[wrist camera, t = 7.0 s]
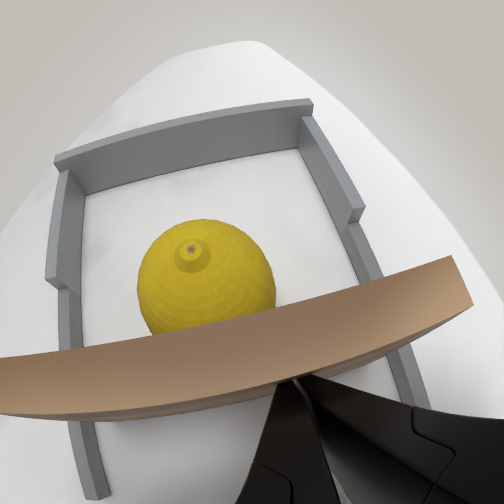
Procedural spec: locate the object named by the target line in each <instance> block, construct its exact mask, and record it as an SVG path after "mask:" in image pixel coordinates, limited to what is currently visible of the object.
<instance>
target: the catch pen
mask: <svg viewBox="0 0 504 504" xmlns="http://www.w3.org/2000/svg"><path fill="white" fill-rule="evenodd" d="M313 106H314V104H313V103H312V101H311V100H310V98H306V99H295V100H285V101H276V102H268V103H260V104H253V105H246V106H240V107H233V108H227V109H222V110H216V111H211V112H205V113H200V114H195V115H191V116H186V117H181V118H177V119H173V120H168V121H164V122H160V123H156V124H152V125H148V126H145V127H141V128H137V129H134V130H130V131H127V132H123V133H120V134H116V135H113V136H110V137H107V138H104V139H100V140H97V141H94V142H91V143H88V144H85V145H82V146H80V147H77V148H74V149H71V150H68V151H66V152H63V153H60V154H58V155H56V156H55V159H54V165H55V166H56V168H57V170H58V171H59V177H58V182H57V187H56V192H55V198H54V203H53V209H52V216H51V222H50V230H49V238H48V246H47V256H46V268H45V280H46V281H47V282H49V283H50V284H51V285H52V286H54V287H55V288H56V289H58V335H59V351H62V350H69V349H76V348H83V339H82V322H81V244H82V227H83V214H84V203H85V196H86V195H89V194H92V193H96V192H99V191H102V190H106V189H109V188H112V187H116V186H119V185H123V184H127V183H130V182H134V181H138V180H141V179H145V178H149V177H153V176H157V175H161V174H165V173H169V172H173V171H177V170H182V169H186V168H191V167H195V166H200V165H204V164H209V163H214V162H219V161H224V160H229V159H234V158H239V157H244V156H250V155H255V154H261V153H267V152H273V151H279V150H286V149H293V148H298V150H299V152H300V154H301V156H302V157H303V159H304V161H305V163H306V165H307V167H308V169H309V171H310V173H311V175H312V177H313V179H314V181H315V183H316V185H317V188H318V190H319V192H320V194H321V196H322V198H323V200H324V202H325V204H326V206H327V209H328V211H329V213H330V215H331V217H332V219H333V222H334V224H335V226H336V228H337V230H338V233H339V235H340V237H341V239H342V242H343V244H344V246H345V249H346V251H347V253H348V256H349V258H350V260H351V263H352V265H353V268H354V270H355V272H356V275H357V277H358V280H359V282H360V284H364V283H367V282H370V281H374V280H377V279H380V278H383V277H384V276H383V274H382V271H381V269H380V267H379V264H378V262H377V260H376V258H375V256H374V253H373V251H372V249H371V247H370V245H369V242H368V240H367V238H366V236H365V234H364V232H363V230H362V228H361V226H360V224H359V220H360V218H361V215H362V213H363V211H364V209H365V207H366V206H365V204H364V202H363V200H362V199H361V197H360V195H359V193H358V191H357V189H356V188H355V186H354V184H353V182H352V180H351V179H350V177H349V175H348V173H347V172H346V170H345V168H344V166H343V165H342V163H341V161H340V160H339V158H338V156H337V155H336V153H335V151H334V150H333V148H332V146H331V145H330V143H329V141H328V140H327V138H326V137H325V135H324V133H323V132H322V130H321V129H320V127H319V126H318V124H317V122H316V121H315V119H314V118H313V116H312V113H313ZM387 357H388V360H389V363H390V366H391V369H392V372H393V375H394V379H395V382H396V385H397V388H398V391H399V395H400V398H401V401H402V403H405V404H408V405H411V406H412V407H413V406H418V407H422V408H426V409H430V410H431V407H430V403H429V400H428V396H427V393H426V390H425V387H424V383H423V380H422V377H421V374H420V371H419V368H418V365H417V362H416V359H415V356H414V353H413V350H412V347H411V344H410V343H409V344H407V345H405V346H403V347H401V348H399V349H397V350H395V351H393V352H391V353H389V354H387ZM67 422H68V428H69V434H70V439H71V444H72V448H73V453H74V457H75V462H76V466H77V470H78V474H79V478H80V481H81V485H82V488H83V492H84V495H85V498H86V500H98V501H99V500H101V499H103V498H105V497H107V496H109V495H111V494H110V491H109V488H108V484H107V481H106V477H105V473H104V469H103V465H102V461H101V457H100V453H99V449H98V444H97V440H96V435H95V430H94V425H93V422H82V421H67Z"/></svg>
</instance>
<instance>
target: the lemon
mask: <svg viewBox="0 0 504 504" xmlns="http://www.w3.org/2000/svg"><path fill="white" fill-rule="evenodd" d="M137 294H138V300H139V305H140V310H141V313H142V315H143V318H144V320H145V322H146V324H147V326H148V328H149V330H150V332H151V333H152V334H153V335H157V334H162V333H167V332H172V331H177V330H182V329H186V328H191V327H196V326H201V325H205V324H210V323H214V322H219V321H223V320H227V319H232V318H236V317H240V316H244V315H249V314H253V313H257V312H261V311H265V310H269V309H273V308H275V303H276V287H275V282H274V278H273V274H272V270H271V267H270V265H269V263H268V261H267V259H266V258H265V256H264V254H263V252H262V250H261V249H260V247H259V246H258V245H257V244H256V243H255V242H254V241H253V240H252V239H251V238H250V237H249V236H248V235H247V234H246V233H244V232H243V231H241V230H239V229H238V228H236V227H235V226H233V225H230V224H227V223H224V222H221V221H217V220H207V219H200V220H192V221H187V222H184V223H181V224H178V225H175V226H174V227H172V228H170V229H169V230H167V231H166V232H164V233H163V234H162V235H161V236H160V237H158V238H157V239H156V240H155V241H154V242H153V244H152V245H151V247H150V248H149V250H148V251H147V253H146V254H145V256H144V258H143V260H142V263H141V266H140V269H139V273H138V283H137Z"/></svg>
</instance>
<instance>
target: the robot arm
mask: <svg viewBox="0 0 504 504" xmlns="http://www.w3.org/2000/svg"><path fill="white" fill-rule="evenodd" d="M296 384H297V386H296ZM296 384H295V383H294V381H293V380H290V381H286V382H283V383H279V384H277V385H276V389H275V392H274V396H273V399H272V402H271V406H270V409H269V412H268V416H267V419H266V422H265V425H264V429H263V432H262V435H261V438H260V441H259V444H258V448H257V451H256V454H255V457H254V460H253V463H252V464H251V467H250V470H249V473H248V476H247V478H246V481H245V483H244V486H243V488H242V491H241V493H240V495H239V497H238V499H237V501H236V503H235V504H341V502H340V499H339V496H338V493H337V490H336V486H335V483H334V480H333V477H332V474H331V471H332V472H333V474H334V475H335V477H336V479H337V480H338V482H339V483H340V485H341V487H342V488H343V490H344V491H345V493H346V494H347V496H348V498H349V499H350V501H351V502H352V504H504V419H493V418H481V417H471V416H463V415H456V414H449V413H444V412H439V411H434V410H430V409H426V408H422V407H418V406H413V407H412V406H411V405H408V404H405V403H401V402H397V401H394V400H390V399H387V398H384V397H380V396H377V395H374V394H370V393H367V392H364V391H361V390H358V389H354V388H351V387H348V386H345V385H342V384H339V383H336V382H333V381H330V380H327V379H325V378H322V377H319V376H316V375H313V374H310V375H307V376H304V377H300V378H297V379H296ZM329 467H330V468H329ZM330 469H331V471H330Z"/></svg>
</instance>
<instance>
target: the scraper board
mask: <svg viewBox="0 0 504 504" xmlns="http://www.w3.org/2000/svg"><path fill="white" fill-rule="evenodd" d="M473 305H474V304H473V302H472V299H471V297H470V295H469V292H468V290H467V288H466V286H465V283H464V281H463V279H462V277H461V275H460V272H459V270H458V268H457V266H456V264H455V262H454V260H453V258H452V256H451V255H450V256H447V257H444V258H441V259H438V260H436V261H433V262H430V263H427V264H424V265H421V266H418V267H415V268H412V269H409V270H405V271H402V272H399V273H396V274H393V275H390V276H387V277H383V278H380V279H377V280H374V281H370V282H367V283H364V284H360V285H357V286H354V287H350V288H347V289H343V290H340V291H336V292H333V293H329V294H326V295H322V296H318V297H315V298H311V299H307V300H304V301H300V302H296V303H292V304H289V305H285V306H281V307H277V308H273V309H269V310H265V311H261V312H257V313H253V314H249V315H244V316H240V317H236V318H232V319H227V320H223V321H219V322H214V323H210V324H205V325H201V326H196V327H191V328H186V329H182V330H177V331H172V332H167V333H162V334H157V335H152V336H146V337H141V338H136V339H130V340H125V341H119V342H113V343H107V344H101V345H95V346H89V347H83V348H76V349H69V350H62V351H55V352H48V353H40V354H32V355H24V356H15V357H6V358H0V414H1V415H8V416H16V417H24V418H34V419H45V420H59V421H82V422H113V421H125V420H135V419H144V418H152V417H160V416H167V415H174V414H181V413H187V412H193V411H199V410H204V409H209V408H215V407H220V406H224V405H229V404H234V403H238V402H243V401H247V400H251V399H255V398H260V397H264V396H267V395H271V394H274V392H275V389H276V385H277V384H279V383H283V382H286V381H290V380H293V381H294V383H295V384H296V379H297V378H300V377H304V376H307V375H310V374H313V375H316V376H319V377H322V378H325V379H326V378H329V377H332V376H335V375H338V374H341V373H344V372H347V371H349V370H352V369H355V368H358V367H360V366H363V365H366V364H368V363H371V362H373V361H375V360H377V359H379V358H381V357H383V356H385V355H387V354H389V353H391V352H393V351H395V350H397V349H399V348H401V347H403V346H405V345H407V344H409V343H411V342H413V341H414V340H416V339H418V338H420V337H422V336H424V335H425V334H427V333H429V332H431V331H432V330H434V329H436V328H438V327H439V326H441V325H443V324H445V323H446V322H448V321H450V320H451V319H453V318H454V317H456V316H458V315H459V314H461V313H462V312H464V311H466V310H467V309H469V308H470V307H472V306H473ZM296 386H297V384H296Z"/></svg>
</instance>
